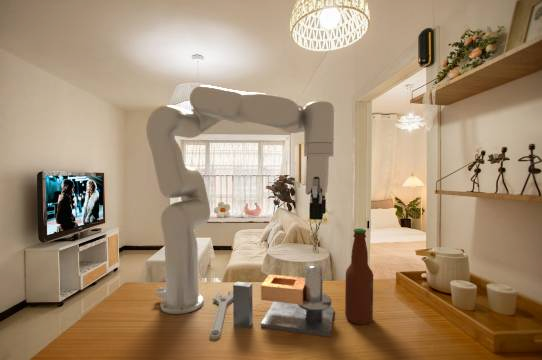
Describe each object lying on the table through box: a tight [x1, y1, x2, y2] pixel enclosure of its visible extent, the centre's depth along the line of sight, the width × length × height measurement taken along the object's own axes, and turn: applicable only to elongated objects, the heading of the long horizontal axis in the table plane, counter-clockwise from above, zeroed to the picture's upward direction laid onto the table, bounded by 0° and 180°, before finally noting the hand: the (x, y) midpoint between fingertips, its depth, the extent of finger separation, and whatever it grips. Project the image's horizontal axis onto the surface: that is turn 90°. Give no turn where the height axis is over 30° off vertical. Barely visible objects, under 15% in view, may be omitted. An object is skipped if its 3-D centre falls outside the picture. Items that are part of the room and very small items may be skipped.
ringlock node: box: [260, 263, 335, 338], centre depth 82 cm, size 19×14×15 cm
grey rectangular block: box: [232, 281, 254, 329], centre depth 79 cm, size 4×2×11 cm, turn 75°
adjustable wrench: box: [209, 290, 233, 340], centre depth 85 cm, size 25×6×2 cm, turn 178°
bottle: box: [344, 228, 374, 326], centre depth 82 cm, size 7×7×25 cm
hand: (317, 216), depth 78 cm, fingers open, 9 cm apart
